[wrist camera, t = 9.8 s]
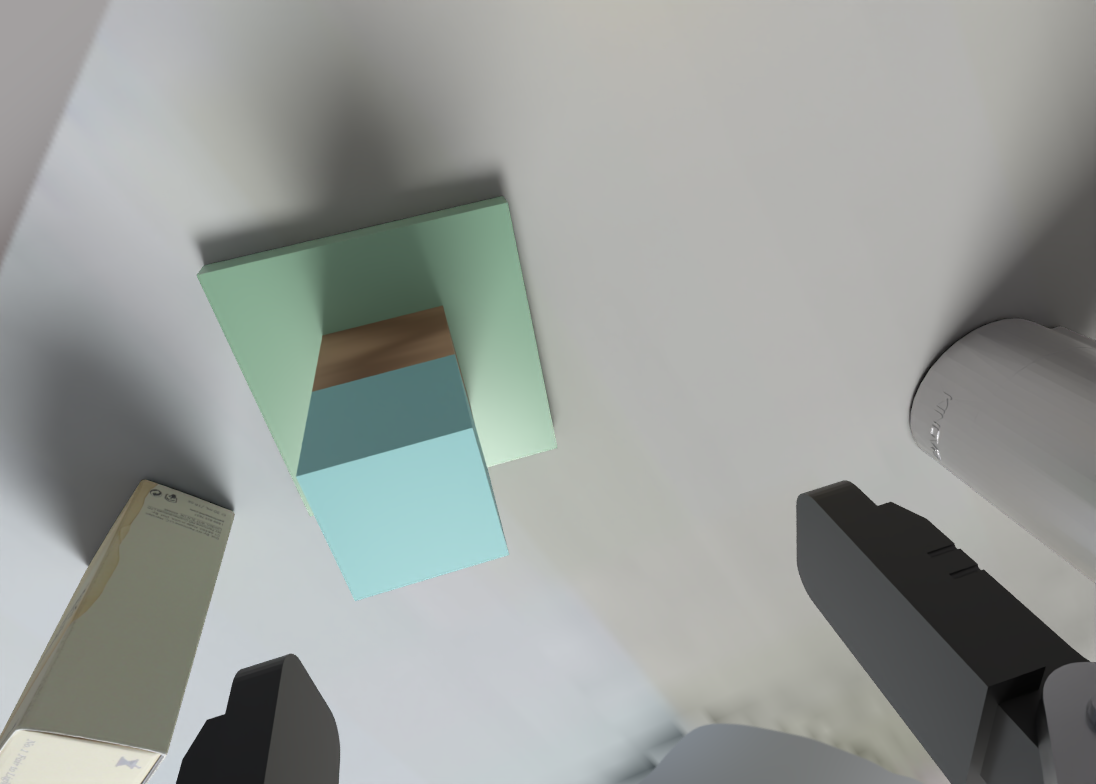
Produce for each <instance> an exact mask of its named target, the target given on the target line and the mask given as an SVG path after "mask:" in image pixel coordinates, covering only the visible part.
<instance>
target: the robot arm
mask: <svg viewBox="0 0 1096 784" xmlns="http://www.w3.org/2000/svg"><path fill="white" fill-rule="evenodd" d="M910 427H911V431H912V435H913V439H914V440H915V442H916V443H917V445H918V447H919V448H920V449H921V450H923V451H924V452H925V453H926V454H928V455H929V456H930V457H932V458H933V459H934V460H935V461H937V462H938V463H939V464H941V465H942V466H943V467H944V468H946V469H947V470H948V471H950V472H951V473H952V474H953V475H955V476H956V477H957V478H959V479H960V480H961V481H963V482H964V483H965V484H966V485H968V486H969V487H970V488H972V489H973V490H974V491H975V492H976V493H978V494H979V495H980V496H982V497H983V498H984V499H985V500H987V501H988V502H989V503H991V504H992V505H993V506H995V507H996V508H997V509H998V510H1000V511H1001V512H1002V513H1004V514H1005V515H1006V516H1008V517H1009V518H1010V519H1012V520H1013V521H1014V522H1015V523H1017V524H1018V525H1019V526H1021V527H1022V528H1023V529H1025V530H1026V531H1027V532H1029V533H1030V534H1031V535H1032V536H1034V537H1035V538H1036V539H1038V540H1039V541H1040V542H1042V543H1043V544H1044V545H1045V546H1047V547H1048V548H1049V549H1051V550H1052V551H1053V552H1055V553H1056V554H1057V555H1059V556H1060V557H1061V558H1062V559H1064V560H1065V561H1066V562H1068V563H1069V564H1070V565H1072V566H1073V567H1074V568H1076V569H1077V570H1078V571H1079V572H1081V573H1082V574H1083V575H1085V576H1086V577H1087V578H1089V579H1090V580H1091V581H1092V582H1094V583H1095V584H1096V341H1095V340H1093V339H1090V338H1088V337H1086V336H1083V335H1081V334H1079V333H1076V332H1074V331H1072V330H1069V329H1067V328H1065V327H1062V326H1059V327H1055V328H1051V329H1049V328H1047V327H1044V326H1042V325H1040V324H1037V323H1035V322H1033V321H1029V320H1024V319H1020V318H1018V319H1004V320H1000V321H996V322H992V323H989V324H987V325H984V326H982V327H980V328H978V329H976V330H974V331H972V332H970V333H969V334H967V335H966V336H964V337H963V338H961V339H960V340H958V341H957V342H956V343H955V344H954V345H952V346H951V347H950V348H949V349H948V350H947V351H946V352H945V353H943V354H942V356H941V357H940V358H939V359H938V360H937V361H936V363H935V364H934V365H933V366H932V367H931V368H930V370H929V372H928V373H927V375H926V376H925V378H924V379H923V381H922V383H921V384H920V387H919V389H918V391H917V393H916V396H915V398H914V401H913V406H912V410H911V421H910ZM796 512H797V566H798V571H799V575H800V578H801V580H802V583H803V585H804V587H805V589H806V591H807V593H808V595H809V597H810V598H811V600H812V601H813V603H814V604H815V605H816V606H817V608H818V609H819V610H820V612H821V613H822V614H823V616H824V617H825V618H826V620H827V621H828V622H829V624H830V625H831V626H832V627H833V629H834V630H835V631H836V633H837V634H838V635H839V637H840V638H841V639H842V641H843V642H844V643H845V645H846V646H847V647H848V649H849V650H850V651H851V652H852V654H853V655H854V656H855V658H856V659H857V660H858V662H859V663H860V664H861V666H862V667H863V668H864V670H865V671H866V672H867V673H868V675H869V676H870V677H871V679H872V680H873V681H874V683H875V684H876V685H877V687H878V688H879V689H880V691H881V692H882V693H883V695H884V696H885V697H886V698H887V700H888V701H889V702H890V704H891V705H892V706H893V708H894V709H895V710H896V712H897V713H898V714H899V716H900V717H901V718H902V719H903V721H904V722H905V723H906V725H907V726H908V727H909V729H910V730H911V731H912V733H913V734H914V735H915V737H916V738H917V739H918V741H919V742H920V743H921V744H922V746H923V747H924V748H925V750H926V751H927V752H928V754H929V755H930V756H931V758H932V759H933V760H934V762H935V763H936V764H937V766H938V767H939V768H940V769H941V771H942V772H943V773H944V775H945V776H946V777H947V779H948V780H949V781H950V783H951V784H1096V662H1090V661H1089V660H1087V659H1086V658H1084V657H1083V656H1081V655H1080V654H1079V653H1078V652H1076V651H1075V650H1074V649H1073V648H1072V647H1070V646H1069V645H1068V644H1067V643H1066V642H1065V641H1064V640H1063V639H1061V638H1060V637H1059V636H1058V635H1057V634H1056V633H1055V632H1054V631H1052V630H1051V629H1050V628H1049V627H1048V626H1047V625H1046V624H1044V623H1043V622H1042V621H1041V620H1040V619H1039V618H1038V617H1037V616H1035V615H1034V614H1033V613H1032V612H1031V611H1030V610H1029V609H1028V608H1026V607H1025V606H1024V605H1023V604H1022V603H1021V602H1020V601H1019V600H1017V599H1016V598H1015V597H1014V596H1013V595H1012V594H1011V593H1010V592H1008V591H1007V590H1006V589H1005V588H1004V587H1003V586H1002V585H1001V584H999V583H998V582H997V581H996V580H995V579H994V578H993V577H992V576H990V575H989V574H988V573H987V572H986V571H985V570H980V569H979V568H978V564H977V563H976V562H975V561H974V560H972V559H971V558H970V557H969V556H968V555H967V554H966V553H964V552H963V551H962V550H961V549H957V548H956V547H955V545H954V543H953V542H952V541H951V540H950V539H949V538H948V537H946V536H945V535H944V534H943V533H942V532H941V531H940V530H939V529H937V528H936V527H935V526H934V525H933V524H932V523H931V522H930V521H928V520H927V519H926V518H924V517H922V516H919V515H917V514H915V513H913V512H911V511H909V510H907V509H905V508H903V507H901V506H899V505H896V504H894V503H892V502H889V503H886V504H882V505H879V506H877V505H876V504H875V503H874V502H872V501H871V500H870V499H869V498H868V497H867V496H866V495H865V494H864V493H863V492H862V491H861V490H860V489H859V488H858V487H857V486H855V485H854V484H853V483H851V482H849V481H841V482H837V483H834V484H831V485H828V486H825V487H822V488H819V489H815V490H812V491H809V492H806V493H803V494H800V495H799V496H798V498H797V505H796ZM339 767H340V742H339V735H338V730H337V726H336V722H335V719H334V717H333V714H332V712H331V710H330V709H329V707H328V705H327V704H326V702H325V701H324V699H323V697H322V696H321V694H320V692H319V691H318V689H317V687H316V686H315V684H314V683H313V681H312V679H311V678H310V676H309V674H308V673H307V671H306V669H305V668H304V666H303V665H302V663H301V661H300V660H299V658H298V657H297V656H296V655H294V654H288V655H285V656H282V657H279V658H276V659H272V660H269V661H266V662H263V663H260V664H257V665H253V666H250V667H247V668H244V669H241V670H239V671H238V672H237V674H236V675H235V677H234V680H233V683H232V687H231V692H230V696H229V700H228V705H227V709H226V713H225V714H224V715H221V716H218V717H215V718H212V719H208V720H207V721H206V722H205V724H204V726H203V727H202V729H201V731H200V732H199V734H198V735H197V737H196V739H195V740H194V742H193V743H192V745H191V747H190V748H189V750H188V752H187V753H186V755H185V756H184V758H183V760H182V764H181V767H180V771H179V774H178V778H177V782H176V784H339Z"/></svg>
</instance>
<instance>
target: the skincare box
mask: <svg viewBox="0 0 1096 784" xmlns="http://www.w3.org/2000/svg"><path fill="white" fill-rule="evenodd" d="M234 515H235V514H234V512H233V511H231V510H228V509H225V508H222V507H220V506H217V505H215V504H212V503H209V502H207V501H204V500H202V499H199V498H196V497H194V496H191V495H188V494H185V493H183V492H180V491H177V490H174V489H172V488H169V487H166V486H163V485H160V484H157V483H154V482H152V481H149V480H142V481H141V482H140V483H139V485H138V487H137V488H136V490H135V491H134V493H133V494H132V496H131V497H130V499H129V501H128V502H127V504H126V505H125V507H124V508H123V510H122V511H121V513H120V515H119V516H118V518H117V519H116V521H115V523H114V524H113V526H112V528H111V529H110V531H109V533H108V534H107V536H106V538H105V539H104V541H103V543H102V544H101V546H100V548H99V549H98V551H97V553H96V554H95V556H94V558H93V560H92V561H91V563H90V565H89V566H88V568H87V570H86V572H85V574H84V576H83V577H82V579H81V581H80V583H79V585H78V587H77V589H76V591H75V593H74V594H73V596H72V598H71V600H70V602H69V604H68V606H67V608H66V610H65V612H64V614H63V615H62V617H61V619H60V621H59V623H58V625H57V627H56V629H55V631H54V633H53V635H52V637H51V639H50V641H49V643H48V644H47V646H46V648H45V650H44V652H43V654H42V656H41V658H40V660H39V662H38V664H37V666H36V668H35V670H34V671H33V673H32V675H31V677H30V679H29V681H28V683H27V685H26V687H25V689H24V691H23V693H22V695H21V697H20V699H19V701H18V702H17V704H16V706H15V708H14V710H13V712H12V714H11V716H10V718H9V720H8V722H7V724H6V726H5V728H4V730H3V731H2V733H1V735H0V784H147V783H148V781H149V780H150V778H151V777H152V776H153V774H154V773H155V771H156V770H157V768H158V767H159V765H160V764H161V762H162V761H163V760H164V758H165V757H166V755H167V753H168V749H169V746H170V742H171V739H172V735H173V732H174V728H175V725H176V721H177V718H178V714H179V711H180V707H181V703H182V700H183V696H184V692H185V689H186V686H187V682H188V679H189V675H190V672H191V668H192V664H193V661H194V657H195V654H196V650H197V647H198V643H199V640H200V636H201V633H202V629H203V625H204V622H205V618H206V615H207V611H208V608H209V604H210V601H211V597H212V594H213V590H214V586H215V583H216V580H217V576H218V572H219V569H220V565H221V562H222V558H223V554H224V551H225V548H226V544H227V540H228V537H229V533H230V530H231V526H232V523H233V520H234Z"/></svg>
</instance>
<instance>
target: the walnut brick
mask: <svg viewBox="0 0 1096 784" xmlns="http://www.w3.org/2000/svg"><path fill="white" fill-rule="evenodd" d="M454 354H455V356H456V360H457V363H458V367H459V370H460V366H459V362H458V359H457V355H456V351H455V348H454V344H453V341H452V337H451V333H450V330H449V326H448V322H447V319H446V315H445V311H444V308H443V306H439V307H435V308H431V309H427V310H423V311H419V312H415V313H411V314H407V315H403V316H399V317H395V318H391V319H386V320H382V321H378V322H374V323H370V324H366V325H362V326H358V327H354V328H350V329H346V330H342V331H338V332H334V333H330V334H326V335H322V340H321V346H320V351H319V356H318V362H317V367H316V372H315V378H314V383H313V388H312V392H313V391H317V390H321V389H325V388H329V387H332V386H336V385H340V384H344V383H348V382H351V381H355V380H359V379H363V378H366V377H370V376H374V375H378V374H382V373H385V372H389V371H393V370H397V369H401V368H404V367H408V366H412V365H416V364H419V363H423V362H427V361H431V360H435V359H438V358H442V357H446V356H450V355H454ZM460 374H461V377H462V373H461V370H460ZM462 381H463V377H462ZM463 384H464V381H463ZM464 388H465V384H464ZM465 391H466V388H465ZM466 395H467V391H466ZM467 398H468V395H467ZM468 402H469V399H468ZM469 405H470V402H469ZM470 409H471V406H470ZM471 412H472V410H471ZM472 416H473V414H472ZM473 419H474V418H473ZM474 423H475V422H474Z"/></svg>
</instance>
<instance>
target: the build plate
mask: <svg viewBox="0 0 1096 784" xmlns="http://www.w3.org/2000/svg"><path fill="white" fill-rule="evenodd" d="M197 277H198V279H199V281H200V284H201V286H202V288H203V290H204V292H205V294H206V296H207V298H208V301H209V303H210V305H211V307H212V309H213V311H214V313H215V315H216V318H217V320H218V322H219V324H220V326H221V328H222V330H223V332H224V335H225V337H226V339H227V341H228V343H229V345H230V347H231V349H232V352H233V354H234V356H235V358H236V360H237V362H238V364H239V366H240V369H241V371H242V373H243V375H244V377H245V379H246V381H247V383H248V386H249V388H250V390H251V392H252V394H253V396H254V398H255V400H256V403H257V405H258V407H259V409H260V411H261V413H262V415H263V417H264V420H265V422H266V424H267V426H268V428H269V430H270V432H271V434H272V437H273V439H274V441H275V443H276V445H277V447H278V449H279V451H280V454H281V456H282V458H283V460H284V462H285V464H286V466H287V468H288V471H289V473H290V475H291V477H292V479H293V481H294V483H295V485H296V488H297V490H298V492H299V494H300V496H301V498H302V500H303V502H304V505H305V507H306V509H307V511H308V513H309V515H310V516H314V514H313V512H312V509H311V507H310V505H309V503H308V501H307V499H306V497H305V495H304V493H303V491H302V488H301V486H300V484H299V482H298V480H297V478H296V474H297V468H298V463H299V458H300V452H301V447H302V442H303V436H304V431H305V426H306V420H307V415H308V410H309V404H310V399H311V394H312V388H313V383H314V378H315V372H316V367H317V362H318V356H319V351H320V346H321V340H322V335H326V334H330V333H334V332H338V331H342V330H346V329H350V328H354V327H358V326H362V325H366V324H370V323H374V322H378V321H382V320H386V319H391V318H395V317H399V316H403V315H407V314H411V313H415V312H419V311H423V310H427V309H431V308H435V307H439V306H443V308H444V311H445V315H446V319H447V322H448V326H449V330H450V333H451V337H452V341H453V344H454V348H455V351H456V355H457V359H458V362H459V366H460V370H461V373H462V377H463V381H464V384H465V388H466V391H467V395H468V399H469V402H470V406H471V410H472V414H473V418H474V422H475V426H476V430H477V433H478V437H479V440H480V444H481V448H482V451H483V455H484V458H485V462H486V465H487V467H490V466H494V465H498V464H501V463H505V462H508V461H512V460H516V459H519V458H523V457H526V456H530V455H534V454H537V453H541V452H544V451H548V450H552V449H555V448H557V444H556V439H555V434H554V429H553V424H552V419H551V414H550V409H549V404H548V399H547V394H546V389H545V384H544V380H543V375H542V370H541V365H540V360H539V355H538V350H537V345H536V340H535V335H534V330H533V325H532V320H531V315H530V311H529V306H528V301H527V296H526V291H525V286H524V281H523V276H522V271H521V266H520V261H519V256H518V251H517V246H516V241H515V237H514V232H513V227H512V222H511V217H510V212H509V207H508V202H507V201H506V200H505V198H504V197H503V196H501V197H496V198H492V199H488V200H484V201H479V202H475V203H471V204H466V205H462V206H458V207H453V208H449V209H445V210H441V211H436V212H432V213H428V214H423V215H419V216H415V217H410V218H406V219H402V220H398V221H393V222H389V223H385V224H380V225H376V226H372V227H367V228H363V229H359V230H355V231H350V232H346V233H342V234H337V235H333V236H329V237H324V238H320V239H316V240H312V241H307V242H303V243H299V244H294V245H290V246H286V247H281V248H277V249H273V250H269V251H264V252H260V253H256V254H251V255H247V256H243V257H238V258H234V259H230V260H226V261H221V262H217V263H213V264H208V265H204V266H203V267H202V269H201V270H200V271H199V273H198V274H197Z"/></svg>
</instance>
